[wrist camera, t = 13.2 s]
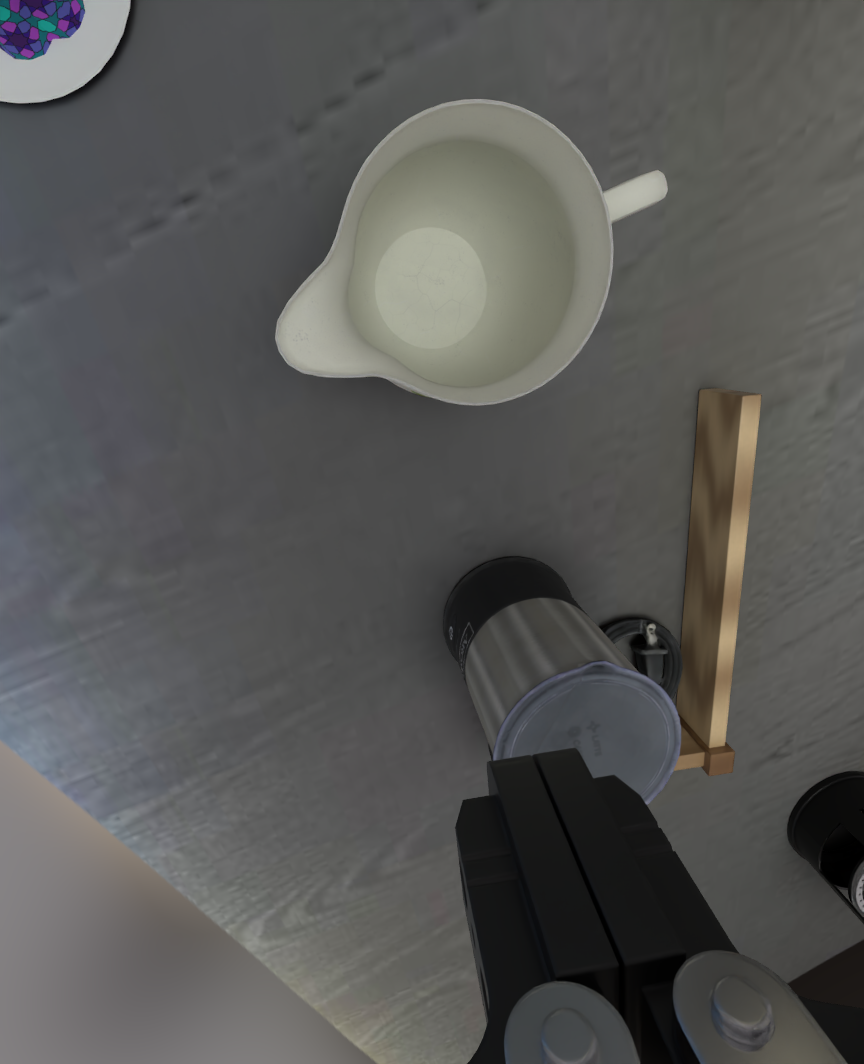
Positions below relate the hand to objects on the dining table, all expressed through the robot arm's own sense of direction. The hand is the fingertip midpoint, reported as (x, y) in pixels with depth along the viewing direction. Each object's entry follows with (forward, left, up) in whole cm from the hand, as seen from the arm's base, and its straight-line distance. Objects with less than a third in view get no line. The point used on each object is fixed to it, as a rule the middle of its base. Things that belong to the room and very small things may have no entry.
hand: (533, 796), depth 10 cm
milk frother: (+13, +11, -29) cm, 34 cm away
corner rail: (+10, +14, -29) cm, 33 cm away
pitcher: (-10, +4, -29) cm, 31 cm away
